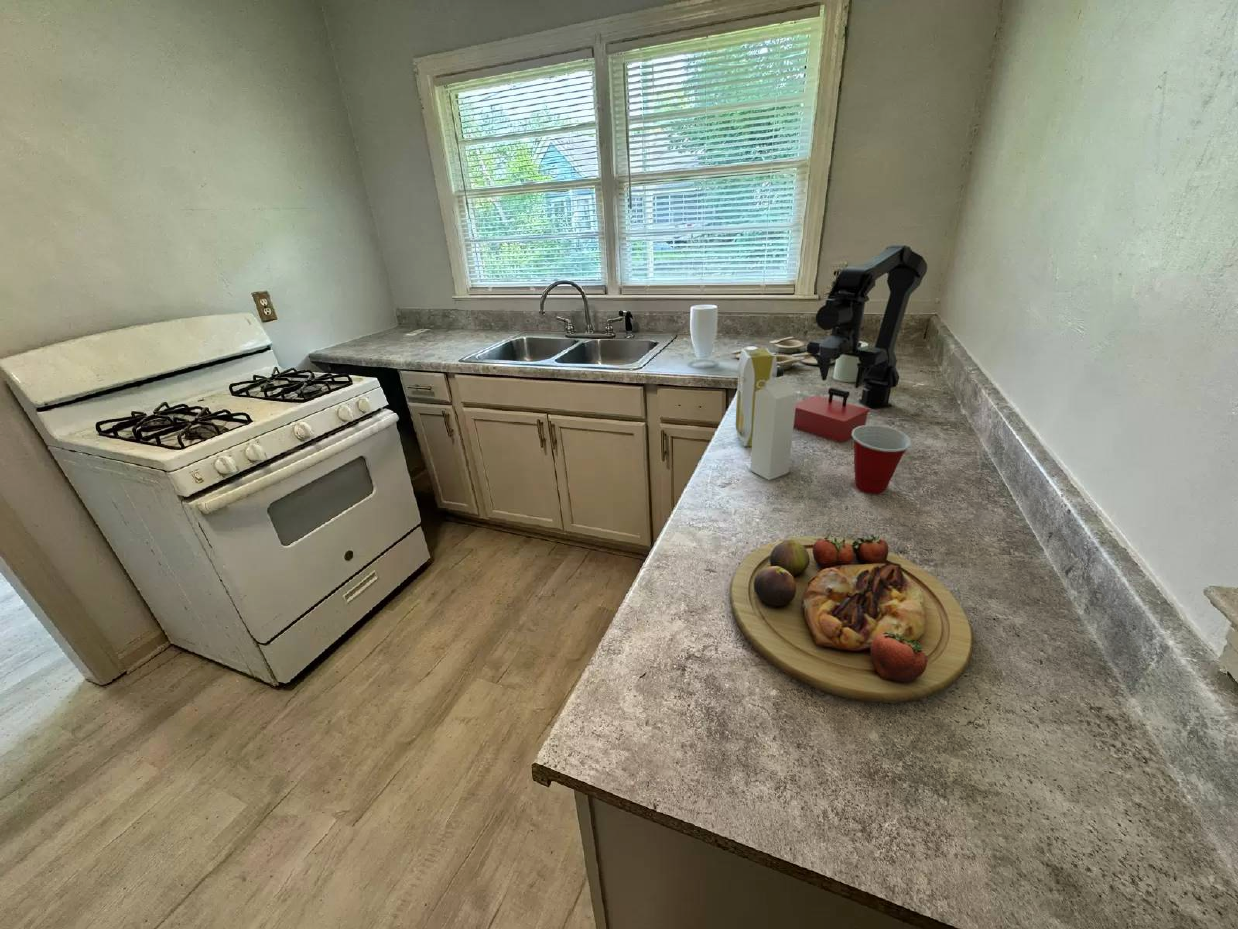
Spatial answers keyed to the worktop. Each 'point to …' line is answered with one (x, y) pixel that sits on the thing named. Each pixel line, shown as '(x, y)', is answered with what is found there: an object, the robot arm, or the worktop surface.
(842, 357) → the can
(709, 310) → the cup
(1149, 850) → the worktop surface
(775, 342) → the tableware set
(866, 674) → the wooden plate
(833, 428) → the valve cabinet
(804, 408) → the red box lid
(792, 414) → the milk
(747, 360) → the juice carton
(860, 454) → the plastic cup
